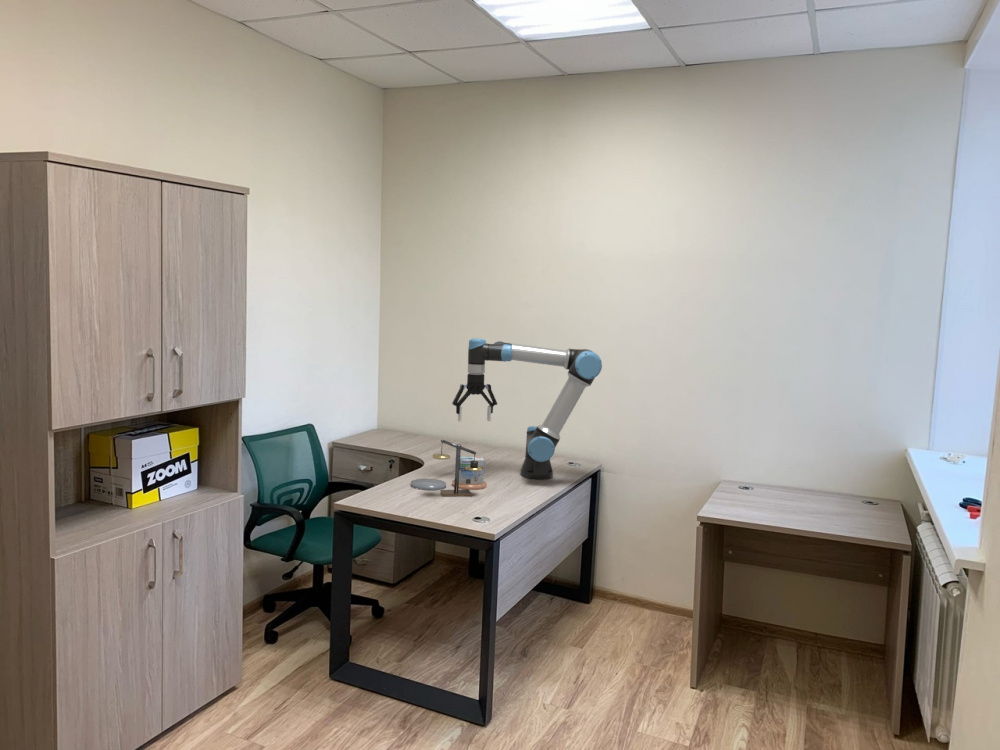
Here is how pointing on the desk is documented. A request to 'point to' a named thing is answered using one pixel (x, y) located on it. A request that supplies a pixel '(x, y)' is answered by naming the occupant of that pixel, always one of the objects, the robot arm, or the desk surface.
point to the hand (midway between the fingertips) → (474, 420)
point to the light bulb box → (471, 476)
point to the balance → (472, 467)
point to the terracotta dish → (471, 486)
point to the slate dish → (428, 484)
